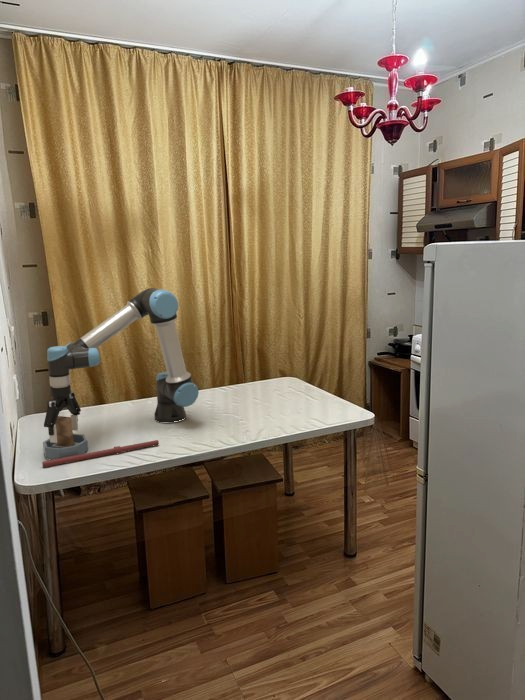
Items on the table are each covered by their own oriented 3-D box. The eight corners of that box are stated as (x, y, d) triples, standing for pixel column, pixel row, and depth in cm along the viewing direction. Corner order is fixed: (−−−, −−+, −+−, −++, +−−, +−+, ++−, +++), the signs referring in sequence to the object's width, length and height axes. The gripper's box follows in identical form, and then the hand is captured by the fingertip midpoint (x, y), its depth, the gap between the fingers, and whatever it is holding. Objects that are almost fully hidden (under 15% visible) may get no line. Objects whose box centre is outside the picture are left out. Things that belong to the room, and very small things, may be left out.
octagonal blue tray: (94, 447, 213) (94, 435, 212) (71, 462, 198) (70, 450, 197) (61, 443, 217) (60, 432, 216) (35, 458, 202) (34, 446, 201)
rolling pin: (157, 444, 216) (156, 437, 215) (159, 447, 213) (159, 440, 213) (42, 466, 195) (41, 459, 195) (43, 469, 193) (42, 462, 192)
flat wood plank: (74, 449, 208) (71, 417, 205) (70, 452, 205) (67, 419, 202) (61, 448, 209) (58, 415, 206) (57, 450, 207) (54, 418, 204)
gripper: (71, 376, 214) (75, 424, 219) (30, 393, 191) (35, 446, 195) (87, 378, 212) (90, 426, 217) (47, 395, 189) (52, 448, 193)
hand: (64, 436), depth 206 cm, fingers open, 13 cm apart
